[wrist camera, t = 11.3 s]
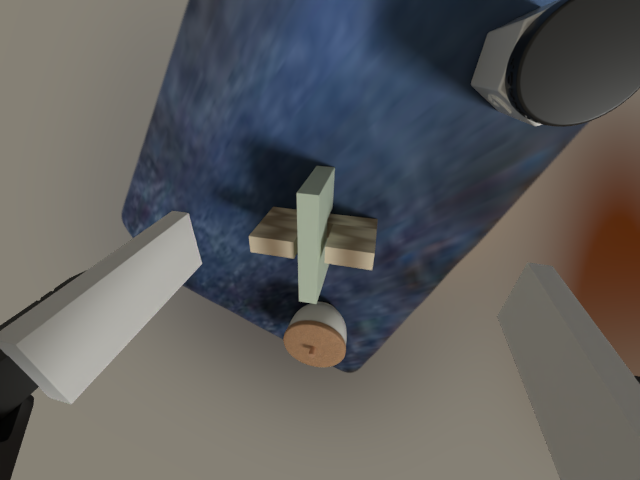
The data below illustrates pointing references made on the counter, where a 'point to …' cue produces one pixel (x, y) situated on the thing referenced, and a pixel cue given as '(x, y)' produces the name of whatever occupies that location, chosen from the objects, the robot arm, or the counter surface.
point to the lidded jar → (317, 335)
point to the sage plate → (313, 231)
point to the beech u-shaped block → (342, 232)
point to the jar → (562, 62)
